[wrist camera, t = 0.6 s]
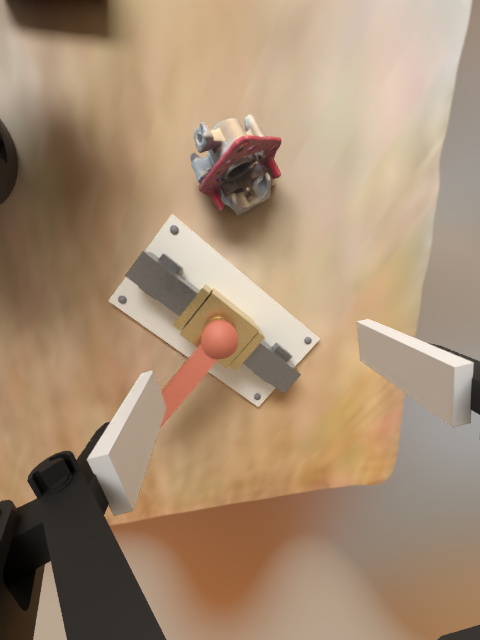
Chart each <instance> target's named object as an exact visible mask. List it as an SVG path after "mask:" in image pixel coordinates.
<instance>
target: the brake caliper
mask: <svg viewBox="0 0 480 640" xmlns="http://www.w3.org/2000/svg"><path fill="white" fill-rule="evenodd" d="M199 124H200V127H197V129H196V130H195V132H194V139H195V144H196V147H197V150H198V152H200V153H202V152H204V151H209V153H208V154H207V156H206V157H205V158H203V159H202V158H200V157H199V156H198V155H197V154H196V153H193V154H191V157H190V158H191V162H192V167H193V169H194V171H195V174H196V177H197V180H198V182H199V183H200V186H199V190H200V191H201V192H203V193H204V194H207V195H208V196H210V197H211V199H212V200H213V202H214V204H215V206H216V208H217V210H218V211H220V212H221V211H223V209H224V206H225V205H228V206H229V208H230V209H232V210H233V211H234V212H235V213H236V214H237V215H241V214H243V213H245V212H247V211H248V210H250V209H251V208H252V207H254V206H255V205H257V204H259V203H261V202H264V201H265V200H267V199H269V198H270V197H271V195H270V194H271V186H273V185H275V182H276V178H279V177H280V176H281V173H280V170H279V168H278V166H277V165H276V163H275V161H274V156H275V153H276V151H277V150H278V148H279V147H280V145H281V138H279V137H278V138H277V137H267V136H265V134H264V132H263V131H262V129H261V127H260V126H259V124H258V122H257V120H256V119H255V117H254V115H252V114H249V115H247V116H246V117H245V130H244V129H243V127H242V125H241V123H240V122H239V121H238V120H237V119H235V118H228V119H225V120H223V121H221V122H219V123H218V124H217V125H216V126H214V128H213V129H212V130H210V129H209V128H208V126H207V124H206V123H205V122H200V123H199Z"/></svg>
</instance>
